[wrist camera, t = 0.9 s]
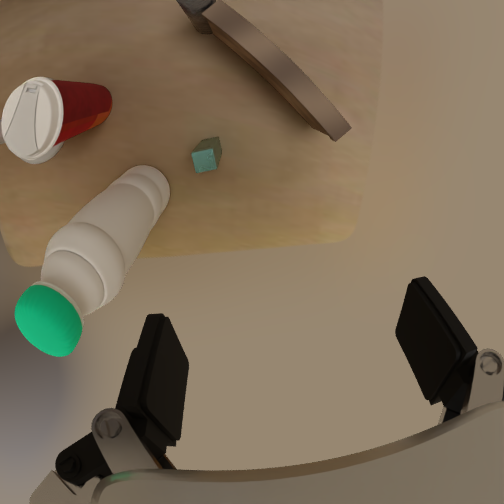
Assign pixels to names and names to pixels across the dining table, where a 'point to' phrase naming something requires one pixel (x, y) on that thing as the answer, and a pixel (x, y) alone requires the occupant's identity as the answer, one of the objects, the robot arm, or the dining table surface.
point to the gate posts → (209, 150)
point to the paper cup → (51, 114)
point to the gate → (276, 69)
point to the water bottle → (91, 259)
